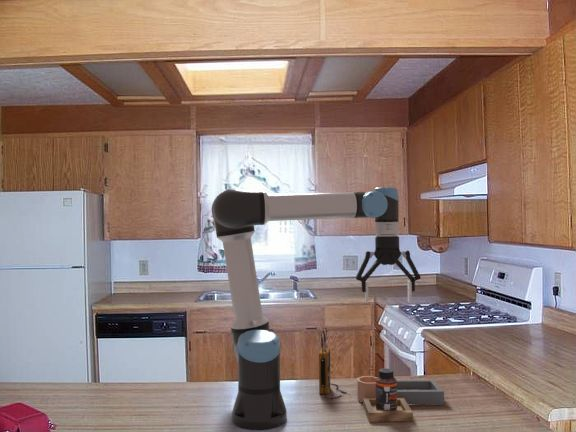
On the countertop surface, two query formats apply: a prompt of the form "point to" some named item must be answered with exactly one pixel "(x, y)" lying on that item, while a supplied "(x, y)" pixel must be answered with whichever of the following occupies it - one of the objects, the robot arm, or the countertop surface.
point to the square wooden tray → (376, 416)
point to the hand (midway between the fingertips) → (388, 302)
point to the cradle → (420, 392)
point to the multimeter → (325, 369)
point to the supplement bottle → (386, 391)
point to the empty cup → (366, 387)
